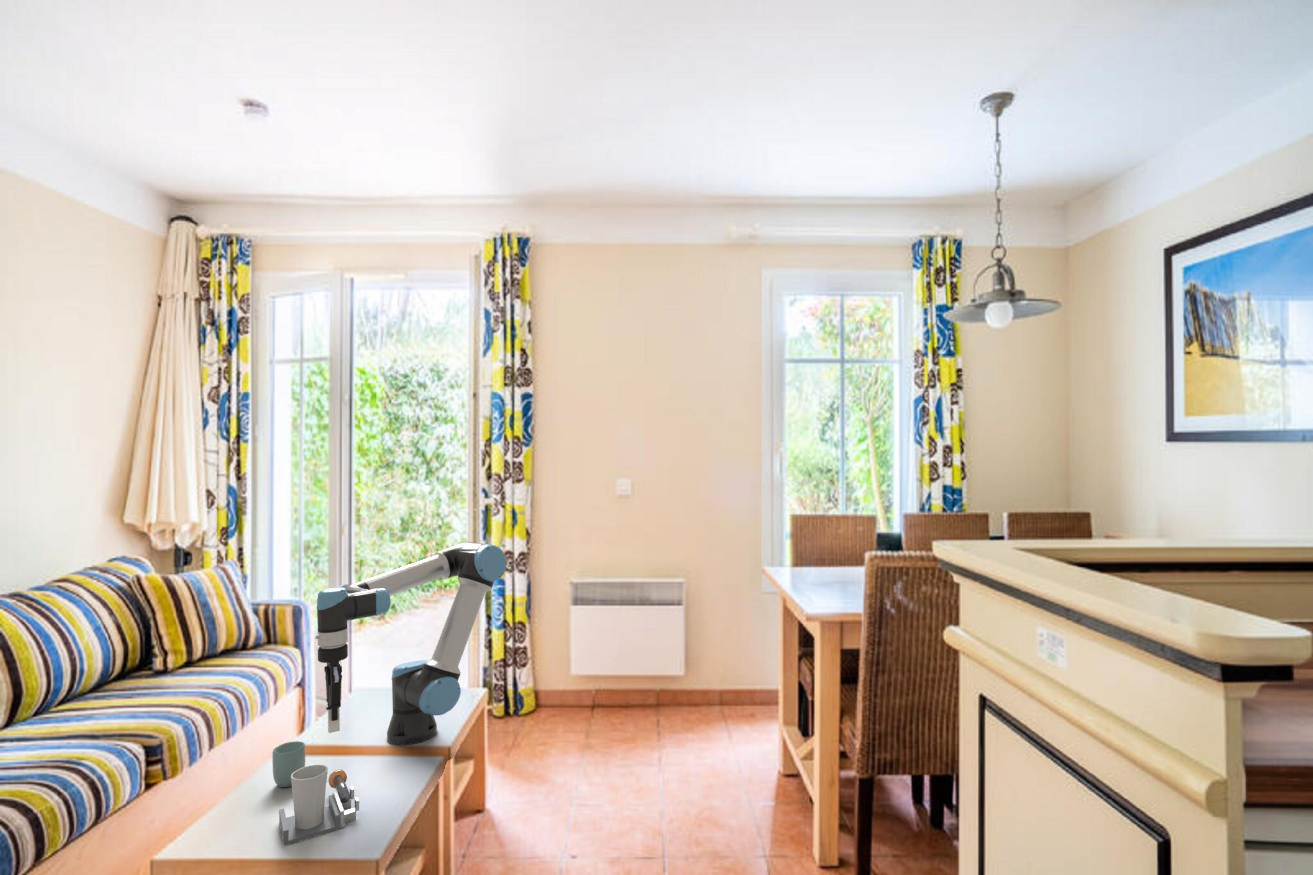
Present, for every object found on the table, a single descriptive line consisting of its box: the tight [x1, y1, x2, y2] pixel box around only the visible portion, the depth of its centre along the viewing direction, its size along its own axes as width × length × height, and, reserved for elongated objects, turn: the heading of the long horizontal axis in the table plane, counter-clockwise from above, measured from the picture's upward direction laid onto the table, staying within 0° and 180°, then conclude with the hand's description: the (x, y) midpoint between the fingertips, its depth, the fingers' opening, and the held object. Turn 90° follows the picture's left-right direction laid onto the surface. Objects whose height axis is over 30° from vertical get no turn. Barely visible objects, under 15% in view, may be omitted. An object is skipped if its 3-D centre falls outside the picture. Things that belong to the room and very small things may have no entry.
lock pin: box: [327, 769, 351, 803], centre depth 173 cm, size 13×4×4 cm, turn 34°
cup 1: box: [271, 740, 306, 788], centre depth 183 cm, size 8×8×10 cm
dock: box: [278, 794, 342, 847], centre depth 161 cm, size 12×12×3 cm
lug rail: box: [332, 785, 360, 829], centre depth 166 cm, size 4×12×4 cm, turn 34°
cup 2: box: [291, 764, 329, 829], centre depth 161 cm, size 8×8×12 cm
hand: (333, 730), depth 183 cm, fingers closed
